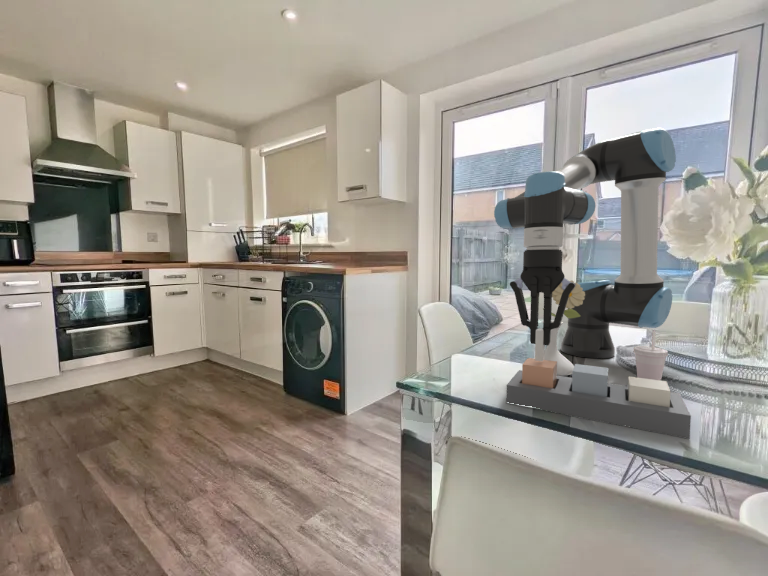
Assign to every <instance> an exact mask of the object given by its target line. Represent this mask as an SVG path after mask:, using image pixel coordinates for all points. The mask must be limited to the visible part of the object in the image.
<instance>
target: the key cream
mask: <svg viewBox="0 0 768 576" xmlns="http://www.w3.org/2000/svg"><path fill="white" fill-rule="evenodd" d="M627 382H628V383H627V386H628V400H627V401H633V402H639V403H646V404H652V405H658V406H664V407H670V392H671V389H670V387H669V384H668V381H666V380H661V381H660V380H652V379H645V378H638V377H635V376H628V381H627Z"/></svg>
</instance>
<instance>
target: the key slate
mask: <svg viewBox="0 0 768 576" xmlns="http://www.w3.org/2000/svg"><path fill="white" fill-rule="evenodd" d="M571 375H572V377H571V378H572V392H578V393H584V394H590V395H596V396H602V397H607V386H608V383H609V382H608V381H609V380H608V379H609V368H608V367H604V366H595V365H586V364H580V363H575V364H574V368H573V373H572V374H571Z"/></svg>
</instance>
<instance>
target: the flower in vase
mask: <svg viewBox="0 0 768 576" xmlns="http://www.w3.org/2000/svg"><path fill="white" fill-rule="evenodd" d="M569 281H570V282H574V283H575V284H576V286H575V288H574V289H573V290H572V291H571V293H570V295H569V298H568V301H567V305H566V308H565V311H564V314H563V316H565V317H566V318H567V319H568V318H576V317H580V315H579V313H577V312H576V311H575V310H573V309H572V308H574V307H575V306H579V305H582V304H583V301H582V300H584V299H585V298H584V296H585V292H584V291H582V290H583V289H582V288H581V287H580V285H579V284H578V283H579V282H575V281H574V280H569ZM563 291H564V290H563V289H562V282H561V283H560V285H559V286H558V287H557V288H556V289H555V290H554V291H553V292H552V301H554V302H555V304H556V305H558V306H559V302H560V299H561V296H562V293H563ZM568 308H570V309H568ZM542 310H543V311H544V307H543V308H542ZM555 316H556V313H554V312H551V317H553V318H555ZM541 322H542V323H543V320H542V321H541ZM551 322H554V320H552V319H551ZM563 323H564V322H563V321H561V324H560V326H559V327H558V328H554V329H551V336H550V344H549V345H546V347H545V356H544V360H549V361H557V376H563V377H568V376H570V375H572V373H573V368H574V366H575V364H573V363H572V362H571V361H570V360H569V359H567V358H566V357H565V356H564V355H563V354H561V351H559V350H558V346H557V345H558V344H557V343H558V342H557V341H558V340H557V339H558V333H559V330H560V328H561V326H562V325H563ZM532 358H533V359H535V357H532Z"/></svg>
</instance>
